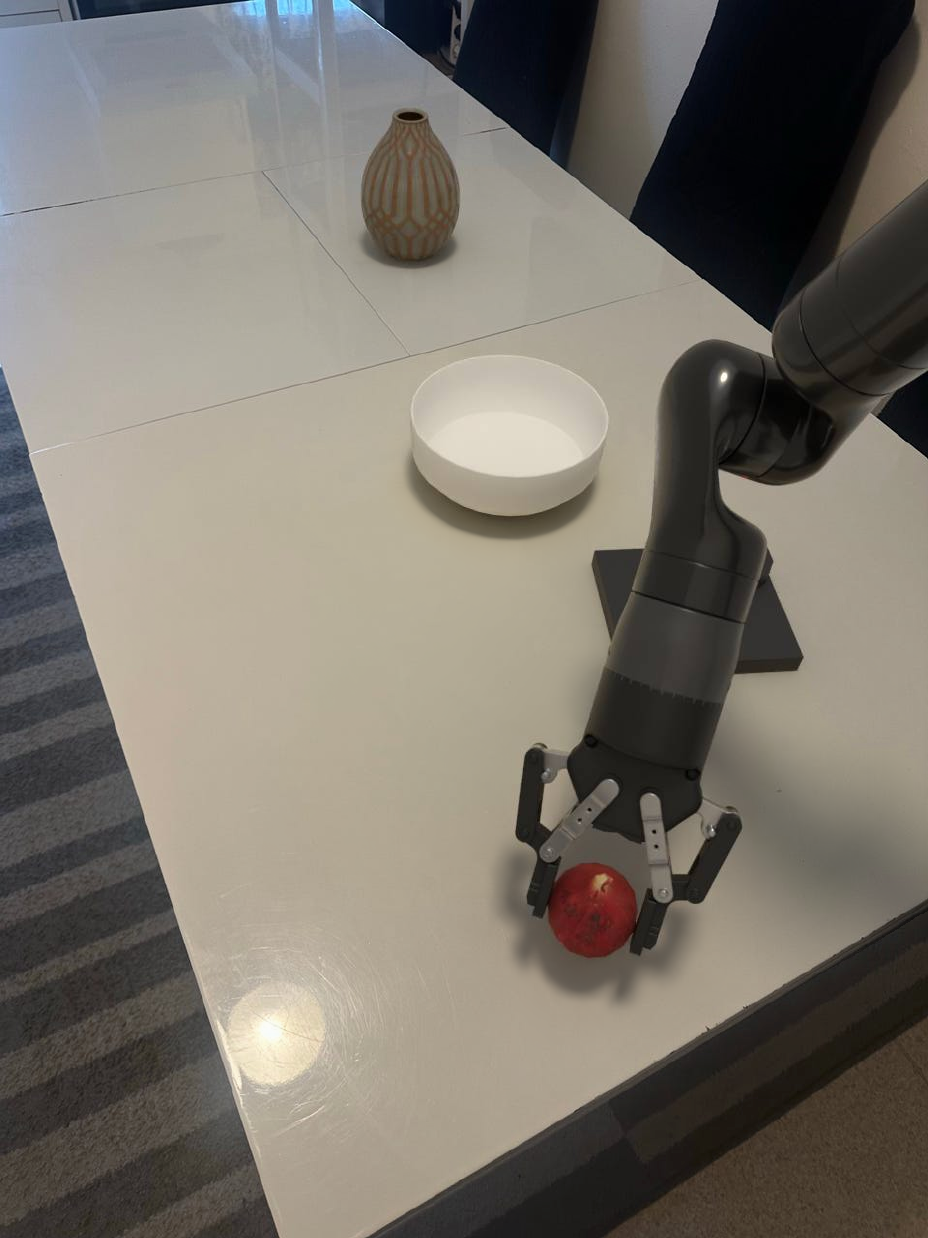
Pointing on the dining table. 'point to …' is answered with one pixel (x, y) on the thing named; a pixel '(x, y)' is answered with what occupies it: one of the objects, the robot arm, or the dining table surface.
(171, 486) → the dining table surface
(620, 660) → the robot arm
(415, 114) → the vase
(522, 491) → the bowl
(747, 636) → the scale
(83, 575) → the dining table surface
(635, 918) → the pomegranate
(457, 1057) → the dining table surface
